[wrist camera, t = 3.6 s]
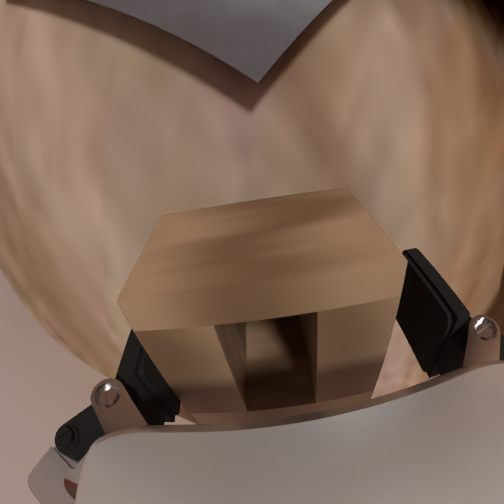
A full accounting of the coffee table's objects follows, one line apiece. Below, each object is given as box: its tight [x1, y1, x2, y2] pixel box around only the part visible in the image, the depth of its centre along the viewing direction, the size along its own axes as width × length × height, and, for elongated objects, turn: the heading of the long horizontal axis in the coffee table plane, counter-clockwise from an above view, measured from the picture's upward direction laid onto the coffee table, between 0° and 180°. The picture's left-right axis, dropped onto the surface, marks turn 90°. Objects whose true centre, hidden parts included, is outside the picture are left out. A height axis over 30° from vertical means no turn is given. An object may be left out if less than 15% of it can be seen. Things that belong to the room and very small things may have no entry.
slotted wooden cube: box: [117, 188, 408, 424], centre depth 10 cm, size 7×7×5 cm
